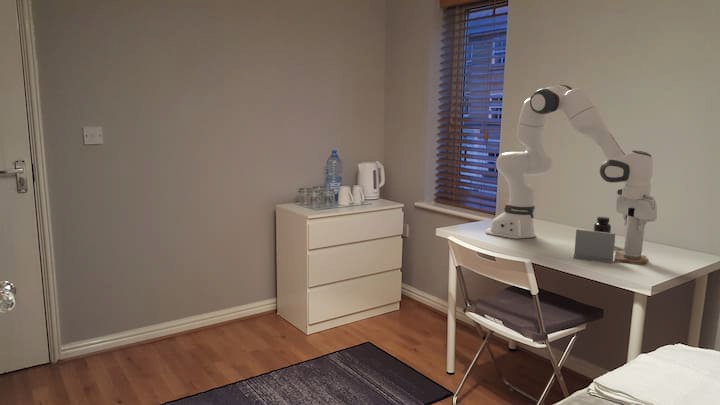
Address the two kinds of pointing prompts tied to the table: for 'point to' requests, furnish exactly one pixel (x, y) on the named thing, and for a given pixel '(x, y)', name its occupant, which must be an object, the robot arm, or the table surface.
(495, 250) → the table surface
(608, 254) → the slate screen
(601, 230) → the supplement bottle
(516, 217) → the robot arm
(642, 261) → the walnut pad
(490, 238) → the table surface
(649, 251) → the table surface
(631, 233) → the travel mug
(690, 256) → the table surface
